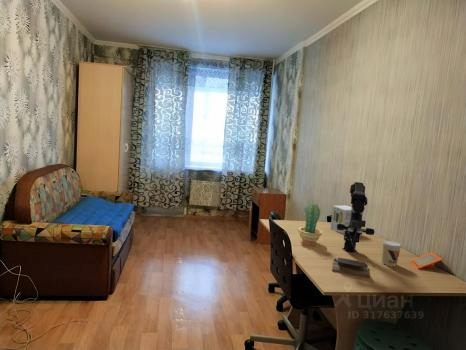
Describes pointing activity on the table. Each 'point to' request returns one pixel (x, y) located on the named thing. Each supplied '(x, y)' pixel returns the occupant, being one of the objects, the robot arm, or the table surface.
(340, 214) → the supplement box
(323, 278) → the table surface
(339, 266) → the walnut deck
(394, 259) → the coffee cup
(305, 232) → the potted cactus
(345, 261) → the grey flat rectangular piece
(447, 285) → the table surface
